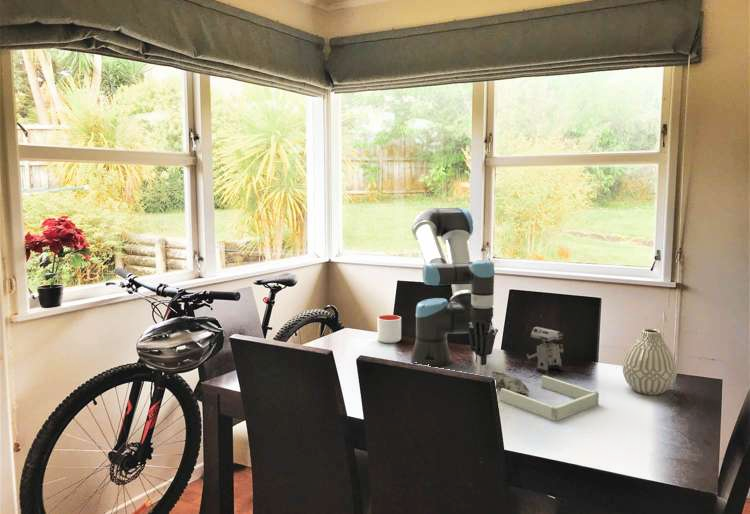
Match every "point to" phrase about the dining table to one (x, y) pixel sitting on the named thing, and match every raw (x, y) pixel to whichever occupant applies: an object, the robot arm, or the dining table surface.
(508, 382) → the mineral rock
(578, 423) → the dining table surface
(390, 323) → the cup
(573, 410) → the corral
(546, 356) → the figurine
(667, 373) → the vase
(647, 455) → the dining table surface
